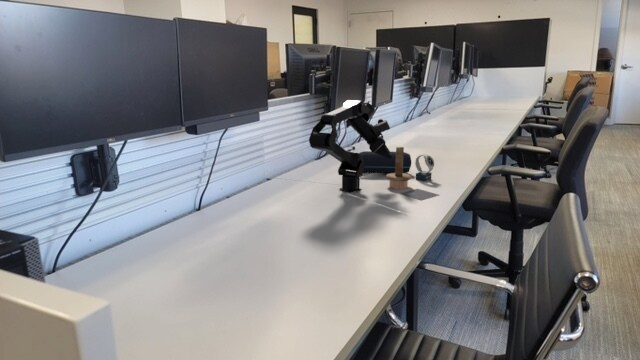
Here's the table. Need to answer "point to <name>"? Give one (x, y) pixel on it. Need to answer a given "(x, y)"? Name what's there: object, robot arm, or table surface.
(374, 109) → the robot arm
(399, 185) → the bowl
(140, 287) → the table surface
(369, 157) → the portable speaker
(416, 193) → the mat
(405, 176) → the lid
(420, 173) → the watch
